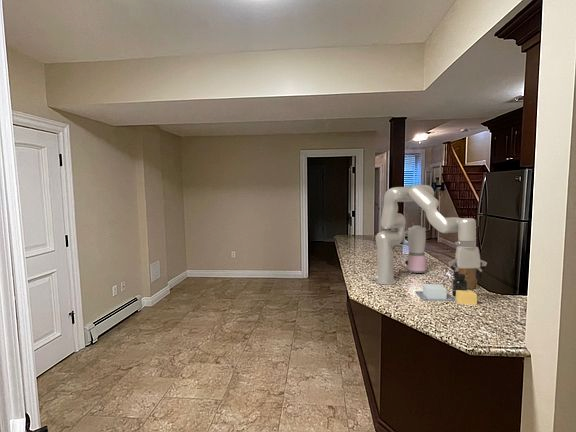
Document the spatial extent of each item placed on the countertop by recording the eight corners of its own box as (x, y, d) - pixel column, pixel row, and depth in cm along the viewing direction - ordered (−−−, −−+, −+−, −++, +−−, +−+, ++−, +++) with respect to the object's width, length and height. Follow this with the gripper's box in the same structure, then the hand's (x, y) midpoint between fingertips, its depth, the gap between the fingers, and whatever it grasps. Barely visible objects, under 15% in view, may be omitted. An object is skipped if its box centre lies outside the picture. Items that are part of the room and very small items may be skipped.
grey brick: (427, 298, 166) (427, 288, 166) (422, 293, 175) (422, 284, 175) (446, 299, 165) (446, 289, 164) (440, 293, 174) (440, 284, 173)
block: (478, 289, 182) (478, 254, 181) (464, 289, 183) (464, 254, 182) (469, 284, 193) (470, 250, 192) (456, 284, 194) (456, 250, 193)
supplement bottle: (449, 295, 173) (450, 273, 173) (463, 295, 173) (463, 272, 173) (456, 299, 167) (456, 276, 166) (469, 299, 166) (470, 276, 166)
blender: (423, 270, 231) (424, 225, 229) (428, 274, 219) (428, 226, 217) (400, 270, 233) (400, 225, 231) (404, 274, 221) (404, 226, 219)
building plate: (422, 302, 163) (422, 299, 163) (414, 293, 179) (414, 290, 179) (456, 303, 161) (456, 300, 161) (445, 293, 177) (445, 290, 176)
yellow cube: (461, 306, 156) (461, 294, 156) (455, 302, 163) (455, 290, 163) (476, 307, 155) (477, 294, 155) (470, 302, 162) (471, 290, 162)
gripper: (450, 245, 155) (450, 281, 156) (490, 244, 152) (490, 281, 153) (445, 243, 162) (445, 277, 163) (483, 242, 160) (483, 277, 161)
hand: (467, 279), depth 158 cm, fingers open, 9 cm apart
